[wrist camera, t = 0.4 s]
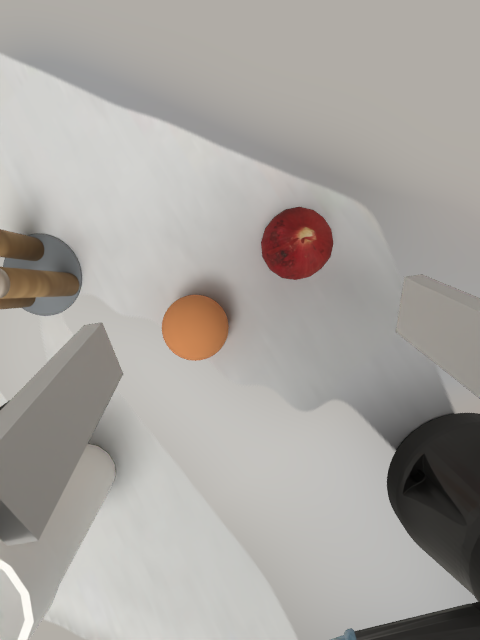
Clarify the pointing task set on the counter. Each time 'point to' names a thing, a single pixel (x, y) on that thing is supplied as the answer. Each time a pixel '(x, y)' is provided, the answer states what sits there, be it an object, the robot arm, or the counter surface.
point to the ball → (195, 327)
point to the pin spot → (54, 260)
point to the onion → (297, 243)
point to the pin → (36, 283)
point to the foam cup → (51, 547)
